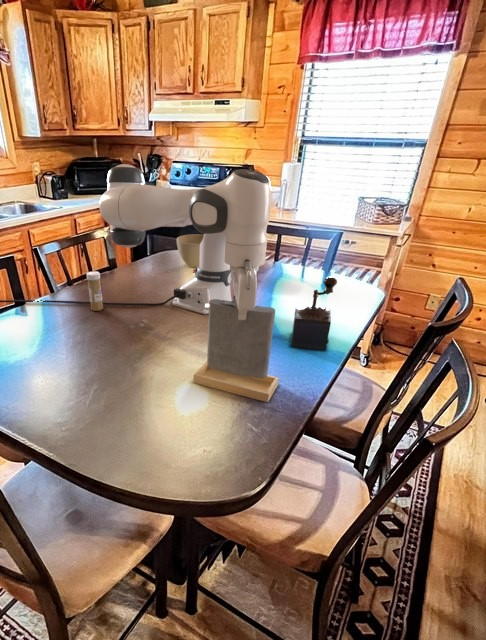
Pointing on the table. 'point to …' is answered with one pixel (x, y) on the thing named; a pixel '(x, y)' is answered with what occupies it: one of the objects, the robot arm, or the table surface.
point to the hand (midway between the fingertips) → (240, 313)
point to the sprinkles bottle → (95, 290)
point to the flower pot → (190, 248)
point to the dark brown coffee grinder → (313, 322)
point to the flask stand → (237, 383)
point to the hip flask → (239, 339)
